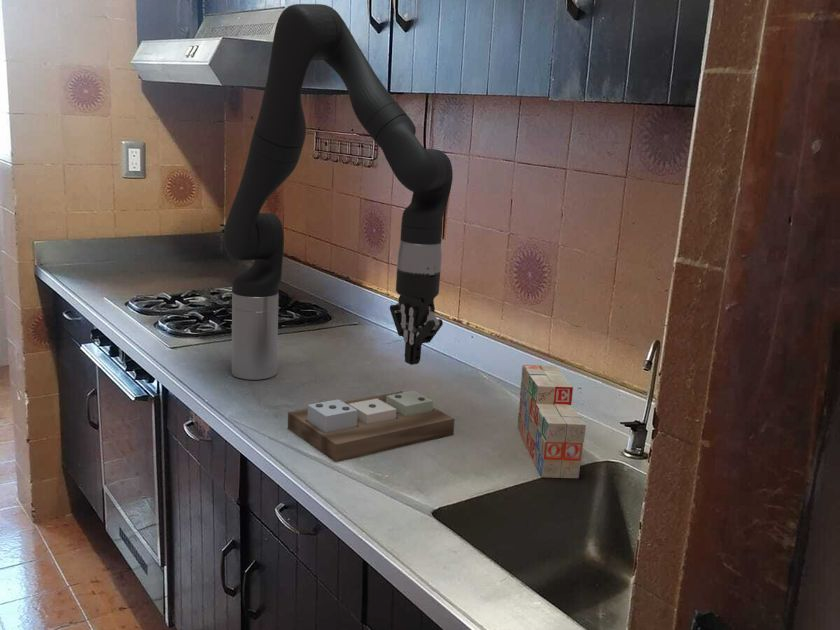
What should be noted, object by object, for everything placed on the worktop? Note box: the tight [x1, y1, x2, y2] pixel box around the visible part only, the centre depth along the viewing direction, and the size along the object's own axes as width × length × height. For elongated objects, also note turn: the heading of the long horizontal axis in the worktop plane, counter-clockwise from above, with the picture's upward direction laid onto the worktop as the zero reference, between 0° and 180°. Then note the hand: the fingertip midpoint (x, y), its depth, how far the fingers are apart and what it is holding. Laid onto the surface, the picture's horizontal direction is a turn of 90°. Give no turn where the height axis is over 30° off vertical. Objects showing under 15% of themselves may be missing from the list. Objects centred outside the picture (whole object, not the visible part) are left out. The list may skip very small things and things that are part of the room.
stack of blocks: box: [517, 364, 587, 479], centre depth 136 cm, size 21×6×12 cm, turn 4°
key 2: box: [386, 390, 434, 417], centre depth 145 cm, size 6×6×3 cm
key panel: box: [287, 391, 455, 463], centre depth 140 cm, size 16×24×3 cm, turn 127°
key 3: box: [307, 398, 357, 433], centre depth 135 cm, size 6×6×3 cm
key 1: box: [348, 399, 396, 425], centre depth 140 cm, size 6×6×3 cm
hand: (412, 363), depth 143 cm, fingers closed
